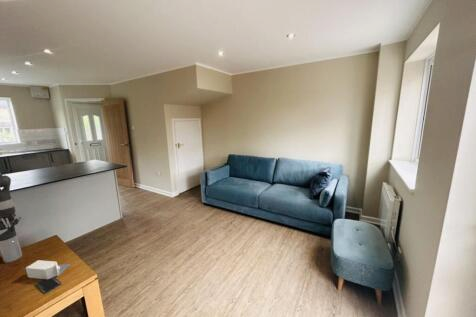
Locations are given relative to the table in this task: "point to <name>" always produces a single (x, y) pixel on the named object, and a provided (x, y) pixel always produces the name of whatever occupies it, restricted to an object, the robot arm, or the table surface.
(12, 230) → the robot arm
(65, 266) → the mat
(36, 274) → the milk carton
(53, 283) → the phone
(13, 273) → the table surface
